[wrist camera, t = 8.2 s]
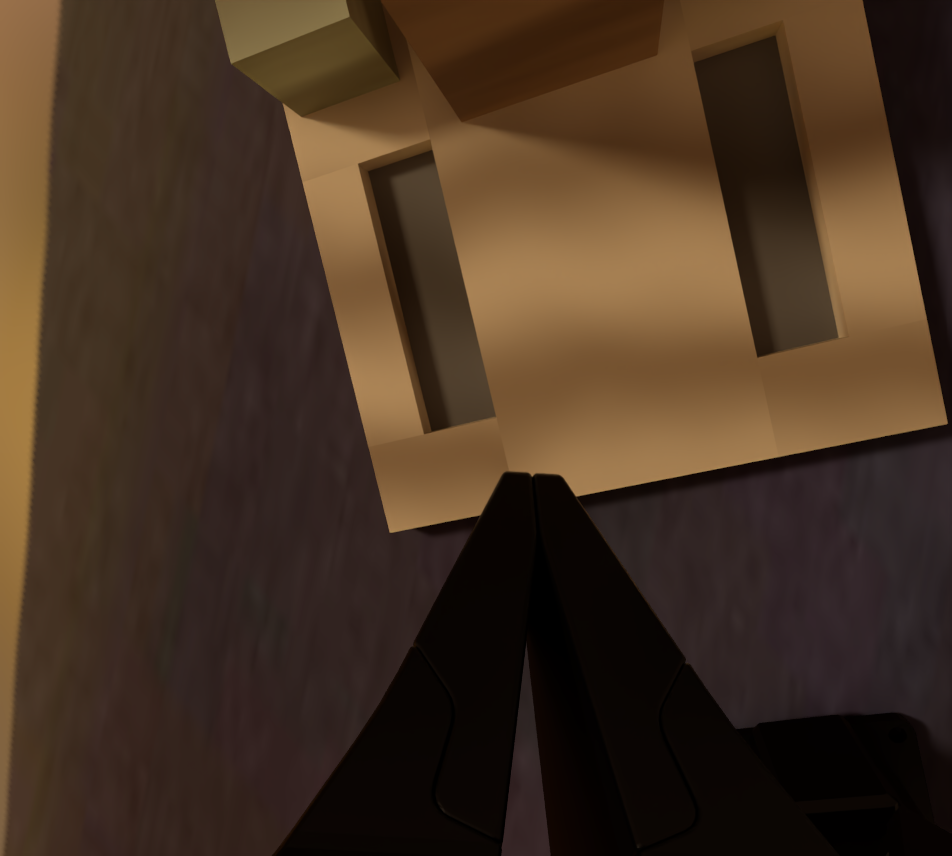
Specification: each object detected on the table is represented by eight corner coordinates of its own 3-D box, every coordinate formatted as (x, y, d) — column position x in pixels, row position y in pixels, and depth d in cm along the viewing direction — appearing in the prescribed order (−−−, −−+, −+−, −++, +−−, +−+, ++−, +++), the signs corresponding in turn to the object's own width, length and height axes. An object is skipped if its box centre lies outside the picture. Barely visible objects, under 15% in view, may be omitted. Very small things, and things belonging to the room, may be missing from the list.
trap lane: (928, 419, 20) (1035, 441, 15) (401, 524, 24) (341, 569, 18) (799, -215, 19) (866, -427, 14) (272, 3, 23) (171, -100, 17)
